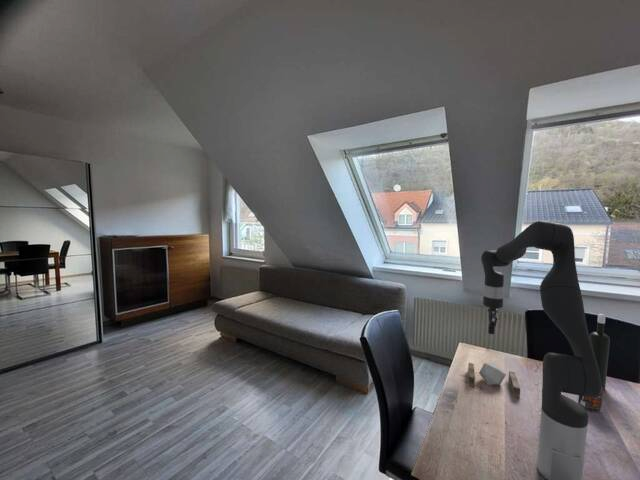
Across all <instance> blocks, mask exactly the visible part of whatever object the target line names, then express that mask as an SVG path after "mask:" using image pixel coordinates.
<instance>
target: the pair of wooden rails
mask: <svg viewBox="0 0 640 480" xmlns="http://www.w3.org/2000/svg"><path fill="white" fill-rule="evenodd" d="M475 374H476V373H475V365H474V363H472V362H471V363H470V362H468V367H467V378H468V387H469V388H474V389H475V386H476V385H475V384H476V376H475ZM508 383H509V388H510V391H511V393H512V396H513V398H516V399H520V398H521V386H520V384H519V383H520V382H519V380H518V377H517V375H516V372H515V371H510V370H509V371H508Z"/></svg>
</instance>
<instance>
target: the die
mask: <svg viewBox="0 0 640 480" xmlns="http://www.w3.org/2000/svg"><path fill="white" fill-rule="evenodd" d="M478 374H479V375H480V376H481V378H482V380H483V381H484V382H485V384H486V385H487V386H499V385H501V384H502V382H503V381H504V379H505V377H506V376H507V375H506V372H504V370H503V369H502V368H501V367H500V366H499V364H498V363H497V362H486V363H485V362H484V364H483V365H482V367H481V369H480V370H479V372H478Z"/></svg>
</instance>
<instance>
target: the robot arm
mask: <svg viewBox="0 0 640 480" xmlns="http://www.w3.org/2000/svg"><path fill="white" fill-rule="evenodd" d="M527 248H535V249H538V250H543V251H549V252H551V254H552V258H553V259H552V260H553V261H552V262H553V264H552V267H551V268H550V270H549V271H548V272H547V274H546V275H545V276H544V277H543V279H542V281H541V283H540V285H539V292H540V293H539V294H540V300H541V307H542V309H543V311H544V313H545V314H546V316H547V317H548V318H549V319H550V320H551V321H552V322H553V324H554V325H555V326H556V327H557V328H558V329H559V330H560V331H561V332H562V334H563V335H564V336H565V338H566V340H567V341H568V343H569V345H570V347H571V349H572V352H573V355H569V354H563V353H556V352H547V353H545V355H544V357H543V360H542V382H541V383H542V385H541V386H542V388H541V389H542V390H541V408H540V409H541V410H540V421H539V422H540V423H539V432H538V433H539V435H538V444H537V445H538V446H537V459H536V467H537V470H538V472H539V473H540V475H541V476H542V477H543V478H544V479H545V480H546V479H547V480H583V479H584V477H583V476H584V466H585V457H586V456H585V455H586V445H587V436H588V435H587V434H588V425H589V414H588V410H586V409H584V408H583V407H582V406H581V405H580V404H579V403H578V401H576V400H574V399H571V398H570V397H568V396H566V395H564V394H565V393H566V394H570V395H574V396H575V395H576V396H579V395H580V396H584V397H590V398H597V397H599V396H600V394H601V390H602V383H601V376H600V372H599V368H598V364H597V361H596V358H595V354H594V351H593V347H592V344H591V341H590V333H589V329H588V324H587V319H586V312H585V306H584V301H583V300H584V299H583V295H582V291H581V287H580V283H579V276H578V270H577V264H576V251H575V250H576V249H575V236H574V232H573V230H572V228H571V227H570V226H568V225H567V224H563V223H558V222H553V221H548V220H537V221H534V222H533V223H531V224H530V225H528V226H527V227H526V228H525V229H524V230H522V232H520V233H519V234H518V235H517V236H516V237H514V238H513V239H512V240H511V241H509V242H506V243H504V244H503V245H501V246H499V247H498V248H497V249H496V250H493V249H492V250H490V249H489V250H485V251H483V252H482V254H481V257H480V259H481V263H482V266H483V267H482V268H483V272H484V285H483V293H482V295H483V296H482V304H483V306H485V307H486V312H487V313H486V315H487V316H486V318H487V324H488V327H487V333H488V334H489V335H495V328H496V325H497V322H498V316H499V311H498V309H502V308H503V307H504V294H505V293H504V292H505V291H504V282H505V280H504V279H505V275H504V273H502V272H500V271H496V270H495V269H494V267H495V268H497V267H499V268H501V267H508V266H509V265H510V264H511V263H512V262H514V261H516V260H519V259H521V258H522V257H524V255H525V254H526V253H527ZM562 393H564V394H562Z"/></svg>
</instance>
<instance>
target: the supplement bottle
mask: <svg viewBox="0 0 640 480" xmlns="http://www.w3.org/2000/svg"><path fill="white" fill-rule="evenodd" d="M603 393H604V391H603V387H602V390H601V394H600V396H599V397H597V398H590V397H584V396H580V395H578V399H577V400H578V401H577V403H578V404H580V405H581V406H582V407H583V408H584V409H585V410H586V411H587V412H591V413H599V412H601V409H602V402H603Z"/></svg>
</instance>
